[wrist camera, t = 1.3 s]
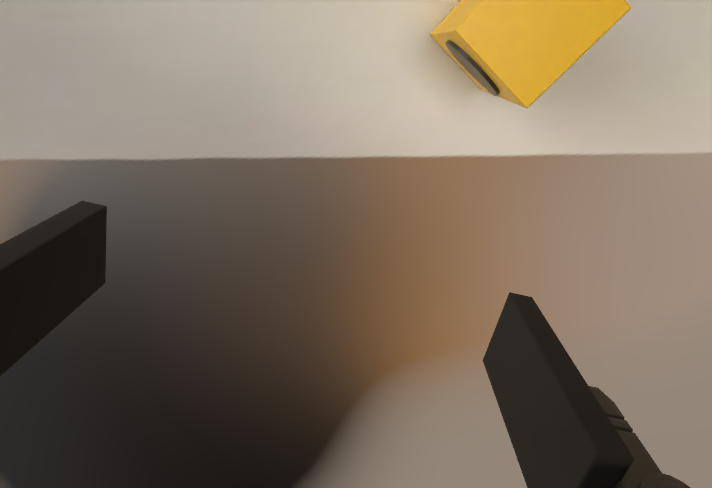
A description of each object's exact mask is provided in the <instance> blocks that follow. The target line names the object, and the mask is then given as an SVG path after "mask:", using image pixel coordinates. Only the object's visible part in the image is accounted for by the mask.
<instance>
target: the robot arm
mask: <svg viewBox="0 0 712 488" xmlns="http://www.w3.org/2000/svg"><path fill="white" fill-rule="evenodd" d="M106 212H107V207H106V206H103V205H99V204H94V203H90V202H85V201H81V202H79V203H77V204H75V205H73V206H71V207H69V208H68V209H66V210H64V211H62V212H60V213H59V214H56V215H55V216H53V217H51V218H49V219H47V220H45V221H43V222H41V223H40V224H38V225H36V226H34V227H32V228H30V229H28V230H26V231H25V232H23V233H21V234H19V235H17V236H15V237H14V238H12V239H10V240H8V241H6V242H4V243H2V244H0V376H1V375H2V374H3V373H4V372H5V371H7V369H9V368H10V367H11V366H12V365H13V364H14V363H16V362H17V361H18V360H19V359H20V358H21V357H22V356H23V355H24V354H26V353H27V352H28V351H29V350H30V349H31V348H32V347H33V346H35V345H36V344H37V343H38V342H39V341H40V340H41V339H42V338H44V337H45V336H46V335H47V334H48V333H49V332H50V331H51V330H52V329H54V328H55V327H56V326H57V325H58V324H59V323H61V322H62V321H63V320H64V319H65V318H66V317H67V316H68V315H70V314H71V313H72V312H73V311H74V310H75V309H76V308H77V307H79V306H80V305H81V304H82V303H83V302H84V301H85V300H86V299H87V298H89V296H91V295H92V294H93V293H94V292H95V291H97V290H98V289H99V288H100V287H101V286H102V285H103V284H104V283H105V268H106V267H105V266H106V214H107V213H106ZM483 362H484V365H485V368H486V371H487V373H488V377H489V379H490V382H491V385H492V388H493V391H494V394H495V396H496V399H497V402H498V405H499V408H500V411H501V413H502V416H503V419H504V422H505V425H506V428H507V430H508V433H509V436H510V439H511V442H512V444H513V448H514V450H515V453H516V456H517V459H518V462H519V465H520V468H521V470H522V473H523V476H524V479H525V482H526V485H527V487H528V488H690V487H689V486H687V485H686V484H685V483H683V482H682V481H680V480H678V479H676V478H673V477H672V476H670V475H666V474H663V473H662V472H661V471H660V470H659V468H658V467H657V465H656V464H655V462H654V461H653V459H652V458H651V456H650V455H649V453H648V452H647V451H646V449H645V447H644V446H643V444H642V443H641V441H640V440H639V439H638V437H637V436H636V434H635V433H633V432H632V431H633V430H632V428H631V427H630V425H629V424H628V422H627V421H625V420H624V416H623V415H622V413H621V412H620V411H619V409H618V408H617V406H616V405H615V403H614V402H613V401H612V400H611V399H610V398H609V397H607V396H606V395H605V394H604V393H603V392H602V391H601V390H600V389H599V388H596V387H591V386H588V385H587V383H586V382H585V380H584V379H583V377H582V375H581V374H580V372H579V371H578V369H577V368H576V366H575V365H574V363H573V361H572V360H571V358H570V357H569V355H568V353H567V352H566V351H565V349H564V347H563V346H562V344H561V342H560V341H559V339H558V338H557V336H556V334H555V333H554V331H553V330H552V328H551V327H550V325H549V323H548V322H547V320H546V319H545V317H544V316H543V314H542V312H541V311H540V309H539V308H538V306H537V305H536V303H535V301H534V300H533V298H532V297H528V296H524V295H519V294H514V293H509V295H508V298H507V300H506V303H505V305H504V308H503V310H502V313H501V316H500V318H499V320H498V323H497V326H496V328H495V331H494V333H493V336H492V338H491V341H490V343H489V346H488V348H487V351H486V354H485V356H484V359H483Z"/></svg>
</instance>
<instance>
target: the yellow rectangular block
mask: <svg viewBox="0 0 712 488" xmlns="http://www.w3.org/2000/svg"><path fill="white" fill-rule="evenodd" d="M630 8H631V7H630V6H629V4H628V3H627V2H626V0H460V2H459V3H458V4H457V5H456V6H455V7H454V8H453V9H452V10H451V12H450V13H449V14H448V15H447V16H446V17H445V18H444V19H443V20H442V22H441V23H440V24H439V25H438V26H437V27H436V28H435V29H434V30H433V31H432V33H431V34H430V35H431V37H432V38H433V39H434V40H435V41H436V42H437V43H438V44H439V45H440V46H441V47H442V48H443V49H444V50H445V51H446V52H447V53H448V55H449V56H450V57H451V58H452V59H453V60H454V61H455V62H456V63H457V64H458V65H459V66H460V67H461V68H462V69H463V70H464V72H465V73H466V74H467V75H468V76H469V77H470V78H471V79H472V80H473V81H474V82H475V83H476V84H477V85H478V86H479V87H480V89H481V90H484V91H486V92H489V93H491V94H493V95H495V96H498V97H501V98H503V99H506V100H508V101H511V102H513V103H515V104H518V105H520V106H523V107H525V108H528V107H529V106H530V105H531V104H532V103H533V102H534V101H535V100H536V99H537V98H538V97H539V96H540V95H541V94H542V93H543V92H544V91H545V90H547V89H548V88H549V87H550V86H551V85H552V84H553V83H554V82H555V81H556V80H557V79H558V78H559V77H560V76H561V75H562V74H563V73H564V72H565V71H566V70H567V69H568V68H569V67H570V66H571V65H573V64H574V63H575V62H576V61H577V60H578V59H579V58H580V57H581V56H582V55H583V54H584V53H585V52H586V51H587V50H588V49H589V48H590V47H591V46H592V45H593V44H594V43H595V42H596V41H597V40H599V39H600V38H601V37H602V36H603V35H604V34H605V33H606V32H607V31H608V30H609V29H610V28H611V27H612V26H613V25H614V24H615V23H616V22H617V21H618V20H619V19H620V18H621V17H622V16H623V15H624V14H626V13H627V12H628V11H629V10H630Z"/></svg>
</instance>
